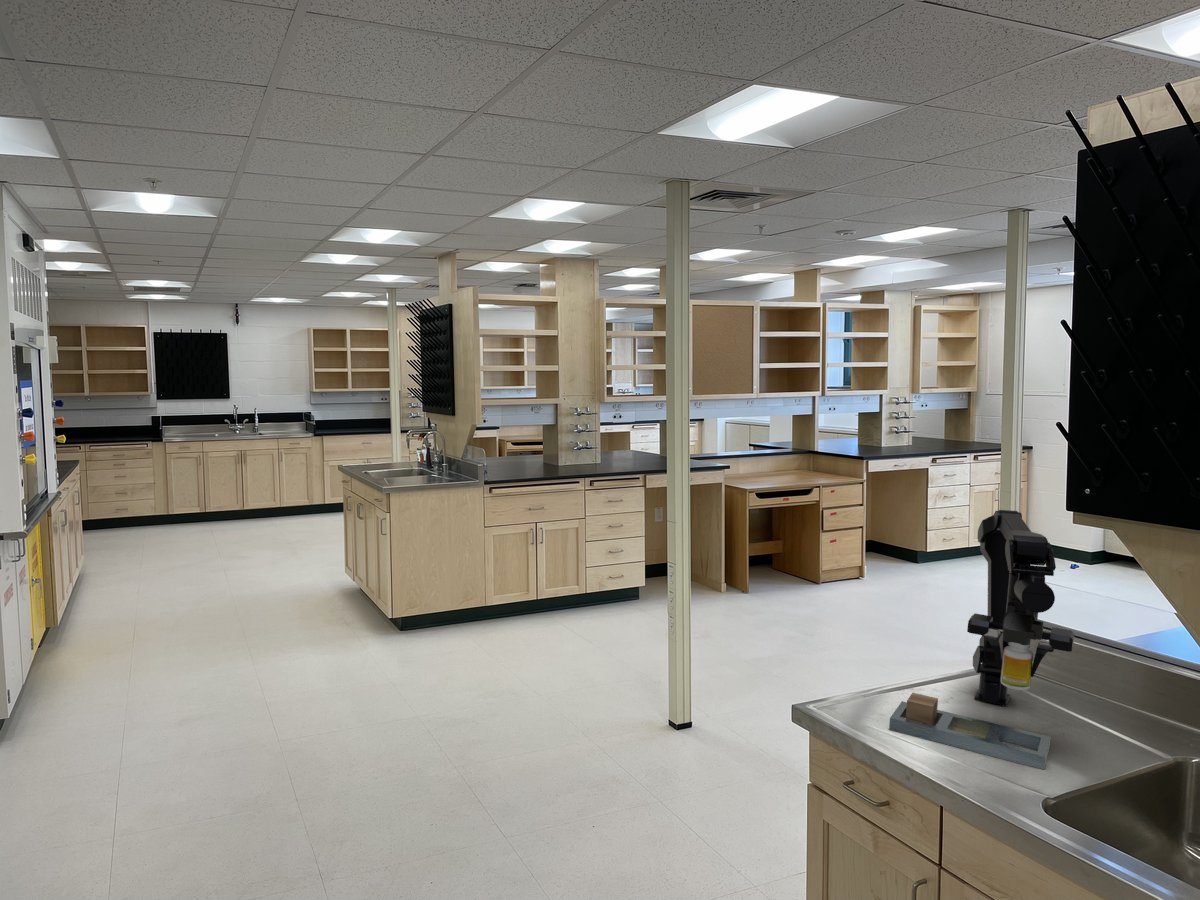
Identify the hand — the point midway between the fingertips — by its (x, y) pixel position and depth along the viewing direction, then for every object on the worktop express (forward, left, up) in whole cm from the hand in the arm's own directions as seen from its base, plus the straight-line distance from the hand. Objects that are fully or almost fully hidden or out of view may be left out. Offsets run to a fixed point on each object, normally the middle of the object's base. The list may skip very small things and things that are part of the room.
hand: (1016, 673), depth 173 cm
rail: (+9, -7, -12) cm, 17 cm away
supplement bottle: (0, 0, -3) cm, 3 cm away
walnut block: (+9, -16, -13) cm, 22 cm away
